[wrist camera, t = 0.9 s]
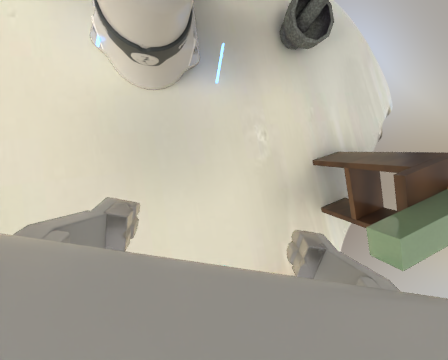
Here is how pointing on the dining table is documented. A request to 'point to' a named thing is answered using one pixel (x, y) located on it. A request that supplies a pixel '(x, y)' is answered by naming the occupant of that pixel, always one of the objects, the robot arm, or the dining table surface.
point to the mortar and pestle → (306, 23)
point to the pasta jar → (411, 233)
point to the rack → (371, 185)
